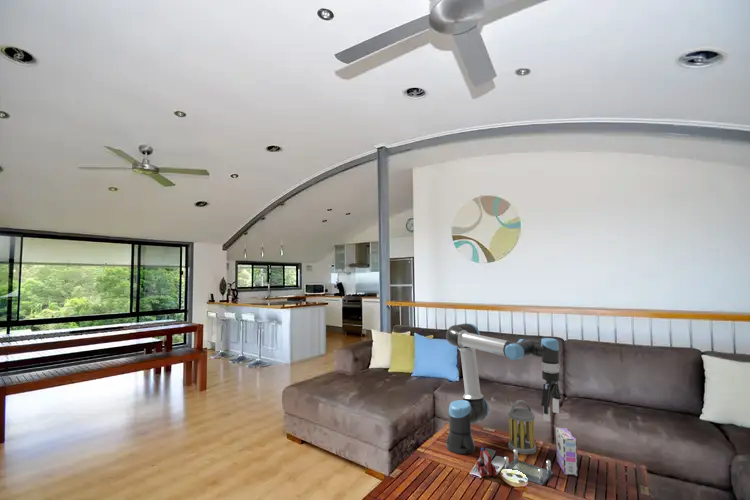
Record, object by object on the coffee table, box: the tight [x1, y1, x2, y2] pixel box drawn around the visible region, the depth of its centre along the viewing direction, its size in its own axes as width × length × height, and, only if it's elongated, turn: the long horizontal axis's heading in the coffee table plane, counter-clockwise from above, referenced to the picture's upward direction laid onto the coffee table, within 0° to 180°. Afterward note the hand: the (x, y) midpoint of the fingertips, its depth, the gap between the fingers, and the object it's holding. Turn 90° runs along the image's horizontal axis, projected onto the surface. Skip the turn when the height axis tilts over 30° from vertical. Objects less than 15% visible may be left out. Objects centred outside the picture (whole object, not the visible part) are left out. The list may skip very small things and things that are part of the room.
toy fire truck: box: [475, 447, 498, 478], centre depth 173 cm, size 7×12×10 cm, turn 1°
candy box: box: [554, 427, 578, 477], centre depth 178 cm, size 14×6×16 cm, turn 168°
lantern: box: [507, 399, 537, 455], centre depth 199 cm, size 14×14×25 cm
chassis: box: [502, 449, 554, 486], centre depth 174 cm, size 18×13×6 cm
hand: (551, 416), depth 176 cm, fingers open, 13 cm apart
